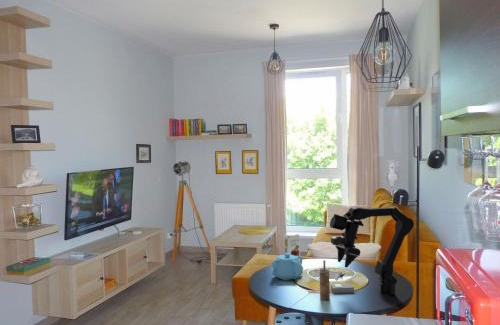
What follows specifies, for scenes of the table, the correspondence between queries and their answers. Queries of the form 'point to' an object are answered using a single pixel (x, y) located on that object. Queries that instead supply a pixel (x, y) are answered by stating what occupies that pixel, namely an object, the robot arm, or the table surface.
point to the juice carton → (292, 244)
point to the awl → (324, 283)
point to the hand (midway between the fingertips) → (342, 264)
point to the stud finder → (342, 288)
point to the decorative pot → (287, 267)
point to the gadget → (332, 274)
